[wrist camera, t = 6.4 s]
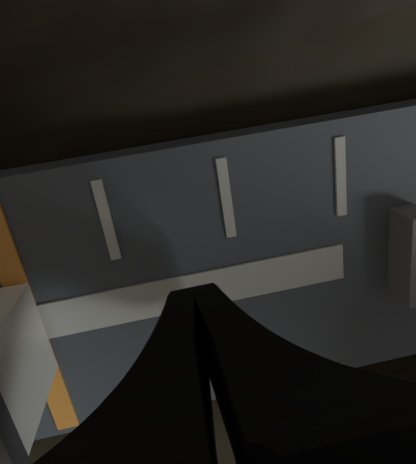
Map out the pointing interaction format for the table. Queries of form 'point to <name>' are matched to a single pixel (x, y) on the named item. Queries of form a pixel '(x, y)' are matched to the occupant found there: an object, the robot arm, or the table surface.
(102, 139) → the table surface
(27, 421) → the fader tab
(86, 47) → the table surface
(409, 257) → the console
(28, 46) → the table surface
